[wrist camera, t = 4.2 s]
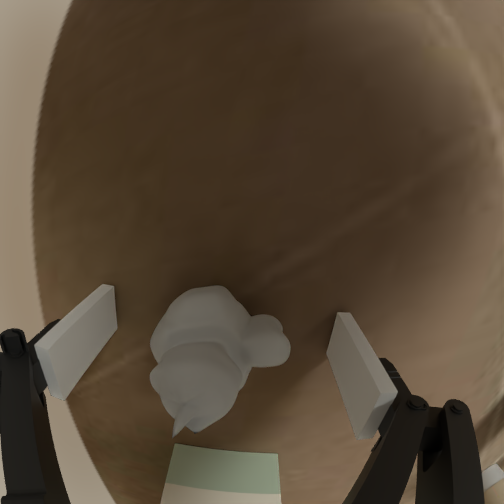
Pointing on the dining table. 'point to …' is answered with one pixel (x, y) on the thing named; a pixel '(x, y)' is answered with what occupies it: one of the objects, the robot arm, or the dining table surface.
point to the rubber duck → (210, 354)
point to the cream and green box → (221, 477)
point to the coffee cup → (493, 485)
